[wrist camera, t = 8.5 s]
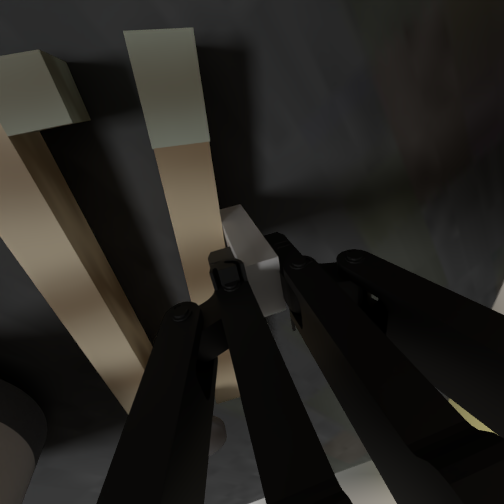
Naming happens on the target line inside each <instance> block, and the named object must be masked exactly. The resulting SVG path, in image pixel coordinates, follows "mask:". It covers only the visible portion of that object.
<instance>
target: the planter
mask: <svg viewBox="0 0 504 504" xmlns="http://www.w3.org/2000/svg"><path fill="white" fill-rule="evenodd" d="M47 431H48V428H47V421H46V418H45V415H44V413H43V411H42V410H41V408H40V406H39V405H38V404H37V403H36V402H35V401H34V400H33V399H32V398H31V397H30V396H29V395H28V394H26V393H25V392H24V391H22V390H21V389H19V388H17V387H16V386H14V385H12V384H10V383H8V382H6V381H4V380H2V379H0V504H22V502H23V500H24V497H25V494H26V492H27V489H28V486H29V484H30V481H31V478H32V476H33V473H34V470H35V467H36V465H37V462H38V459H39V457H40V454H41V451H42V449H43V446H44V443H45V441H46V437H47Z"/></svg>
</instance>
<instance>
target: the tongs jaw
mask: <svg viewBox="0 0 504 504" xmlns="http://www.w3.org/2000/svg"><path fill="white" fill-rule="evenodd" d="M123 33H124V37H125V41H126V45H127V49H128V53H129V57H130V61H131V65H132V69H133V73H134V77H135V81H136V85H137V89H138V93H139V97H140V101H141V105H142V109H143V113H144V117H145V121H146V125H147V129H148V133H149V137H150V141H151V145H152V149H154V152H155V156H156V160H157V164H158V168H159V172H160V176H161V180H162V184H163V188H164V193H165V197H166V201H167V205H168V209H169V213H170V217H171V221H172V225H173V229H174V233H175V237H176V241H177V245H178V249H179V253H180V257H181V261H182V265H183V269H184V273H185V277H186V281H187V286H188V290H189V294H190V298H191V302H194V303H197V304H198V305H200V304H202V303H204V302H205V301H207V300H208V299H209V298H210V297H211V296H212V295H213V293H214V287H213V284H212V281H211V277H210V274H209V271H210V266H209V262H208V256H209V254H210V252H212V251H216V250H219V249H223V248H225V242H224V235H223V229H222V222H221V216H220V209H219V203H218V196H217V190H216V183H215V177H214V170H213V164H212V157H211V151H210V144H209V142H210V136H209V130H208V123H207V116H206V110H205V103H204V97H203V90H202V84H201V77H200V70H199V64H198V57H197V51H196V44H195V37H194V31H193V28H175V29H154V30H134V31H123ZM238 397H240V393H239V389H238V384H237V380H236V376H235V372H234V368H233V364H232V360H231V356H230V351H229V349H228V350H226V351H225V352H223V353H222V354H220V355H219V356H218V368H217V378H216V388H215V399H216V403H217V404H218V403H221V402H225V401H228V400H231V399H234V398H238Z"/></svg>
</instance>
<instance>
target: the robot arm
mask: <svg viewBox="0 0 504 504" xmlns="http://www.w3.org/2000/svg"><path fill="white" fill-rule="evenodd" d="M220 216H221V222H222V229H223V235H224V241H225V245H226V248H223V249H219V250H216V251H212V252H210V254H209V256H208V262H209V266H210V271H209V274H210V277H211V281H212V284H213V287H214V293H213V295H212V296H211V297H210V298H209V299H208V300H207V301H205V302H204V303H202V304H200V305H198V304H197V303H194V302H182V303H179V304H177V305H175V306H173V307H172V308H170V309H169V310H168V311H167V312H166V314H165V316H164V317H163V320H162V323H161V326H160V329H159V331H158V334H157V337H156V340H155V343H154V345H153V348H152V351H151V354H150V356H149V359H148V362H147V365H146V368H145V370H144V373H143V376H142V379H141V381H140V384H139V387H138V390H137V393H136V395H135V398H134V401H133V404H132V407H131V409H130V412H129V415H128V418H127V420H126V423H125V426H124V429H123V432H122V434H121V437H120V440H119V443H118V445H117V448H116V451H115V454H114V457H113V459H112V462H111V465H110V468H109V471H108V473H107V476H106V479H105V482H104V484H103V487H102V490H101V493H100V496H99V498H98V501H97V504H204V498H205V488H206V478H207V468H208V458H209V448H210V438H211V428H212V418H213V408H214V398H215V388H216V378H217V368H218V356H219V355H220V354H222V353H223V352H225V351H226V350H228V349H229V351H230V356H231V360H232V364H233V368H234V372H235V376H236V380H237V384H238V389H239V393H240V397H241V401H242V405H243V409H244V413H245V417H246V421H247V426H248V430H249V434H250V438H251V442H252V446H253V450H254V454H255V459H256V463H257V467H258V471H259V475H260V479H261V483H262V487H263V492H264V496H265V500H266V503H267V504H352V502H351V500H350V499H349V497H348V496H347V495H346V494H345V492H344V491H343V490H342V488H341V487H340V485H339V483H338V481H337V479H336V477H335V474H334V472H333V470H332V468H331V466H330V463H329V461H328V459H327V457H326V454H325V452H324V450H323V448H322V445H321V443H320V441H319V439H318V436H317V434H316V432H315V430H314V427H313V425H312V423H311V421H310V418H309V416H308V414H307V412H306V410H305V407H304V405H303V403H302V401H301V398H300V396H299V394H298V392H297V389H296V387H295V385H294V383H293V380H292V378H291V376H290V374H289V371H288V369H287V367H286V365H285V362H284V360H283V358H282V356H281V354H280V351H279V349H278V347H277V345H276V342H275V340H274V338H273V336H272V333H271V331H270V329H269V327H268V324H267V322H266V320H265V318H264V317H267V316H270V315H273V314H276V313H279V312H282V311H285V310H286V303H287V305H288V306H289V310H290V317H291V323H292V329H293V331H295V326H296V327H297V329H298V331H299V333H300V334H301V336H302V338H303V340H304V341H305V343H306V345H307V347H308V348H309V350H310V352H311V354H312V355H313V357H314V359H315V361H316V362H317V364H318V366H319V368H320V369H321V371H322V373H323V375H324V376H325V378H326V380H327V382H328V383H329V385H330V387H331V389H332V390H333V392H334V394H335V396H336V397H337V399H338V401H339V403H340V404H341V406H342V408H343V410H344V411H345V413H346V415H347V417H348V418H349V420H350V422H351V424H352V426H353V427H354V429H355V431H356V433H357V434H358V436H359V438H360V440H361V441H362V443H363V445H364V447H365V448H366V450H367V452H368V454H369V455H370V457H371V459H372V461H373V462H374V464H375V466H376V468H377V469H378V471H379V473H380V475H381V476H382V478H383V480H384V481H385V483H386V485H387V487H388V489H389V490H390V492H391V494H392V495H393V497H394V499H395V501H396V503H397V504H504V315H503V314H500V313H498V312H496V311H494V310H492V309H490V308H487V307H485V306H483V305H481V304H479V303H477V302H474V301H472V300H470V299H468V298H466V297H464V296H461V295H459V294H457V293H455V292H453V291H451V290H448V289H446V288H444V287H442V286H440V285H438V284H435V283H433V282H431V281H429V280H427V279H425V278H422V277H420V276H418V275H416V274H414V273H412V272H410V271H407V270H405V269H403V268H401V267H399V266H397V265H394V264H392V263H390V262H388V261H386V260H384V259H381V258H379V257H377V256H375V255H373V254H371V253H368V252H366V251H363V250H356V249H351V250H346V251H343V252H341V253H340V254H338V256H337V258H336V259H337V262H335V263H323V264H319V263H317V262H316V260H314V259H313V258H311V257H309V256H302V255H301V253H300V252H299V251H298V250H297V249H296V248H295V247H294V246H293V244H292V243H291V242H290V241H289V240H288V239H287V238H286V237H285V235H283V234H280V233H278V232H275V233H272V234H268V235H265V236H263V235H262V234H261V232H260V231H259V229H258V228H257V227H256V225H255V224H254V222H253V221H252V220H251V218H250V217H249V215H248V214H247V213H246V211H245V210H244V208H243V207H242V206H241V204H239V205H235V206H231V207H228V208H224V209H220ZM371 294H373V295H374V296H376V297H378V301H377V300H374V299H373V298H371ZM285 301H286V303H285ZM435 387H436V388H437V389H438V390H440V391H441V392H442V393H444V394H445V395H446V396H448V397H449V398H450V399H452V400H453V401H454V402H456V403H457V404H459V405H460V406H461V407H462V408H464V409H465V410H466V411H467V412H469V413H470V414H471V415H473V416H474V417H475V418H477V419H478V420H479V421H480V422H482V423H483V424H484V425H486V426H487V427H488V428H490V429H491V430H492V431H494V432H495V433H496V434H495V433H492V432H487V431H481V430H478V429H476V428H475V427H473V426H471V425H470V424H469V423H468V422H467V421H466V420H465V419H464V418H463V417H462V416H461V415H460V414H459V413H458V412H457V410H456V409H455V408H454V407H453V406H452V405H451V404H450V403H449V402H448V401H447V400H446V399H445V398H444V397H443V396H442V394H441V393H440V392H439V391H438V390H437V389H436V388H435ZM497 434H498V435H499V436H498V435H497Z"/></svg>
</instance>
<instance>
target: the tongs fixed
mask: <svg viewBox="0 0 504 504" xmlns="http://www.w3.org/2000/svg"><path fill="white" fill-rule="evenodd" d="M90 120H91V119H90V117H89V114H88V112H87V110H86V107H85V105H84V103H83V100H82V98H81V96H80V93H79V91H78V89H77V86H76V84H75V82H74V80H73V77H72V75H71V73H70V70H69V68H68V66H67V63H66V62H65V61H63V60H61V59H58V58H56V57H54V56H52V55H50V54H47V53H45V52H43V51H41V50H33V51H27V52H21V53H15V54H9V55H3V56H0V237H1V238H2V239H3V241H4V242H5V244H6V245H7V246H8V248H9V249H10V251H11V252H12V253H13V255H14V256H15V258H16V259H17V260H18V262H19V263H20V264H21V266H22V267H23V269H24V270H25V271H26V273H27V274H28V276H29V277H30V278H31V280H32V281H33V283H34V284H35V285H36V287H37V288H38V290H39V291H40V292H41V294H42V295H43V296H44V298H45V299H46V301H47V302H48V303H49V305H50V306H51V308H52V309H53V310H54V312H55V313H56V315H57V316H58V317H59V319H60V320H61V322H62V323H63V324H64V326H65V327H66V329H67V330H68V331H69V333H70V334H71V335H72V337H73V338H74V340H75V341H76V342H77V344H78V345H79V347H80V348H81V349H82V351H83V352H84V354H85V355H86V356H87V358H88V359H89V361H90V362H91V363H92V365H93V366H94V367H95V369H96V370H97V372H98V373H99V374H100V376H101V377H102V379H103V380H104V381H105V383H106V384H107V386H108V387H109V388H110V390H111V391H112V393H113V394H114V395H115V397H116V398H117V400H118V401H119V402H120V404H121V405H122V406H123V408H124V409H125V411H126V412H127V413H128V415H129V412H130V409H131V407H132V404H133V401H134V398H135V395H136V393H137V390H138V387H139V384H140V381H141V379H142V376H143V373H144V370H145V368H146V365H147V362H148V359H149V356H150V354H151V351H152V348H153V346H152V345H151V343H150V341H149V339H148V337H147V335H146V333H145V331H144V329H143V327H142V325H141V324H140V322H139V320H138V318H137V316H136V314H135V312H134V310H133V308H132V306H131V305H130V303H129V301H128V299H127V297H126V295H125V293H124V291H123V289H122V287H121V286H120V284H119V282H118V280H117V278H116V276H115V274H114V272H113V270H112V268H111V266H110V265H109V263H108V261H107V259H106V257H105V255H104V253H103V251H102V249H101V247H100V246H99V244H98V242H97V240H96V238H95V236H94V234H93V232H92V230H91V228H90V227H89V225H88V223H87V221H86V219H85V217H84V215H83V213H82V211H81V209H80V207H79V206H78V204H77V202H76V200H75V198H74V196H73V194H72V192H71V190H70V188H69V187H68V185H67V183H66V181H65V179H64V177H63V175H62V173H61V171H60V169H59V168H58V166H57V164H56V162H55V160H54V158H53V156H52V154H51V152H50V150H49V149H48V147H47V145H46V143H45V141H44V139H43V137H42V135H41V133H40V131H42V130H47V129H51V128H56V127H61V126H66V125H71V124H75V123H80V122H85V121H90ZM226 437H227V436H226V429H225V425H224V422H223V421H222V420H221V419H220V418H218V417H215V416H213V418H212V428H211V438H210V448H209V456H211V455H212V454H214V453H215V452H217V451H218V450H219V449H220V448H221V447H222V446H223V445H224V443H225V441H226Z"/></svg>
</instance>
